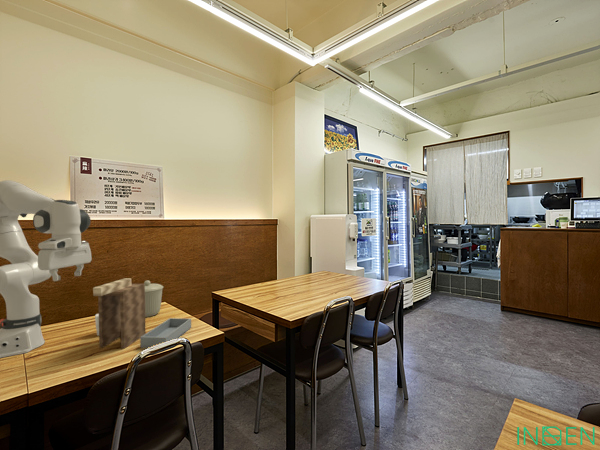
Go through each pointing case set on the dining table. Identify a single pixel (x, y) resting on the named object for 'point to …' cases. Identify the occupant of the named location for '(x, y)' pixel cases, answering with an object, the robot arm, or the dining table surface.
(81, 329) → the dining table surface
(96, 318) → the white cup
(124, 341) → the zigzag patterned arch
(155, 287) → the canister
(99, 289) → the bar
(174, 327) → the tray
